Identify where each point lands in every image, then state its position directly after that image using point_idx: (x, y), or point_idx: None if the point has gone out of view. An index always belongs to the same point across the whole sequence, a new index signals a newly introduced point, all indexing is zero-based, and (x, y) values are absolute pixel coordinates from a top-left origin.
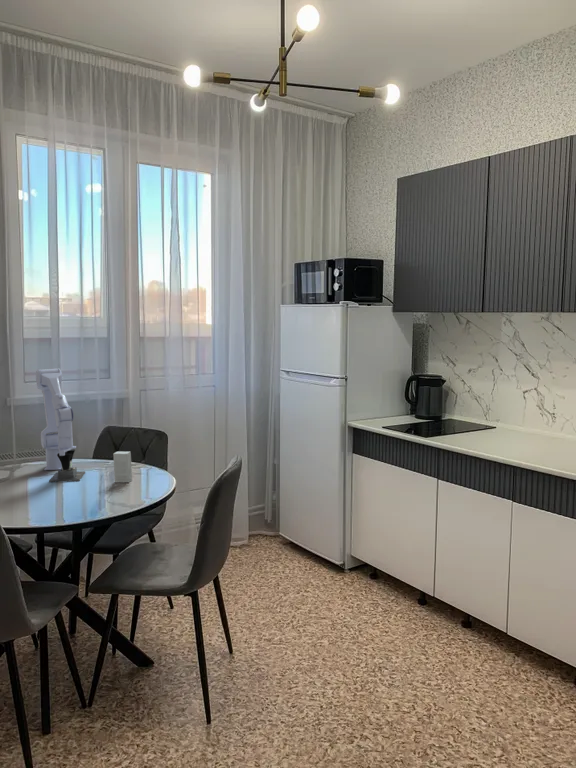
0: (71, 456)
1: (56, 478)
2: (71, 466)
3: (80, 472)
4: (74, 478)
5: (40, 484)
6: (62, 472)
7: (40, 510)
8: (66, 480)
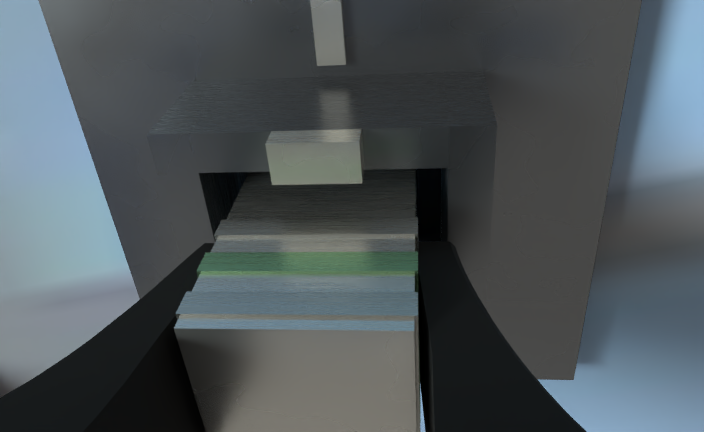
0: (118, 420)
1: (491, 315)
2: (299, 231)
3: (119, 25)
4: (570, 32)
5: (641, 420)
6: (484, 303)
7: None
8: (606, 155)
